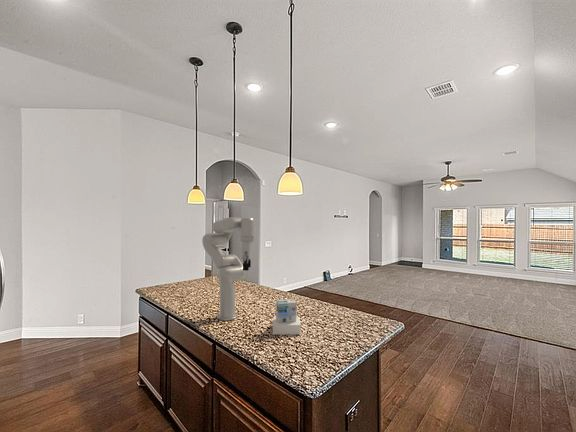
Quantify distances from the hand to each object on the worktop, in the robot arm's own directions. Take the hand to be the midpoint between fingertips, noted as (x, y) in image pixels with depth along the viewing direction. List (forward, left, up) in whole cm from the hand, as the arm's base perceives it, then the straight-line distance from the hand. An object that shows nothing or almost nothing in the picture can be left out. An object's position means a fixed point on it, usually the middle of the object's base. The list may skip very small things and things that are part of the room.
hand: (246, 268), depth 161 cm
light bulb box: (+4, +23, -28) cm, 37 cm away
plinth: (+4, +23, -33) cm, 41 cm away
